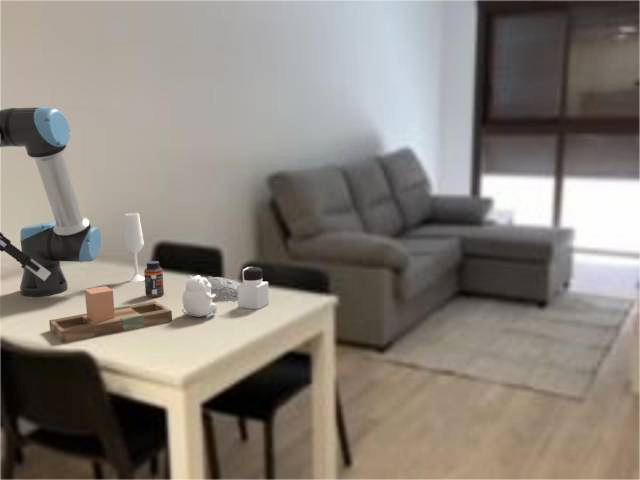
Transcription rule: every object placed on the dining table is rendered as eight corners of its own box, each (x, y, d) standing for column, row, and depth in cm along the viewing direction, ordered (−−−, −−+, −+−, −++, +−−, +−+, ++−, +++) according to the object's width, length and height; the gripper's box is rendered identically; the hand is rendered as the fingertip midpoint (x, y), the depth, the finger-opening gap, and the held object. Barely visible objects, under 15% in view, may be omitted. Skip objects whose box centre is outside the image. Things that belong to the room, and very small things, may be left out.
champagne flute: (143, 281, 247) (139, 215, 243) (125, 281, 247) (120, 215, 243) (148, 277, 254) (144, 212, 249) (130, 277, 254) (125, 212, 249)
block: (87, 316, 196) (84, 289, 194) (108, 313, 199) (105, 286, 198) (93, 321, 191) (91, 294, 190) (114, 317, 194) (112, 290, 193)
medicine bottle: (269, 303, 216) (268, 266, 214) (257, 309, 210) (256, 271, 208) (249, 301, 219) (248, 264, 217) (237, 307, 213) (236, 269, 211)
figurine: (187, 322, 199) (185, 282, 197) (178, 313, 208) (175, 275, 205) (220, 317, 204) (218, 277, 201) (209, 309, 212) (207, 271, 210)
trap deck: (50, 330, 194) (49, 319, 193) (155, 310, 211) (154, 300, 211) (62, 342, 183) (61, 331, 183) (172, 320, 201) (171, 310, 200)
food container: (225, 305, 215) (225, 283, 214) (178, 295, 232) (178, 275, 232) (262, 299, 226) (262, 279, 225) (215, 290, 243) (216, 272, 243)
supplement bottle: (159, 298, 225) (157, 264, 223) (142, 297, 226) (140, 263, 224) (167, 293, 231) (164, 260, 229) (150, 292, 232) (148, 259, 230)
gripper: (-43, 229, 177) (32, 283, 189) (-35, 236, 166) (43, 292, 178) (-23, 207, 179) (50, 261, 191) (-14, 212, 168) (63, 269, 180)
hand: (47, 276), depth 185 cm, fingers closed
